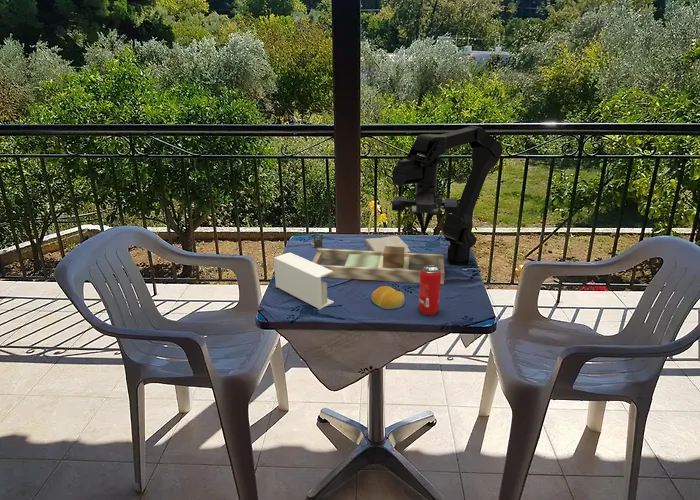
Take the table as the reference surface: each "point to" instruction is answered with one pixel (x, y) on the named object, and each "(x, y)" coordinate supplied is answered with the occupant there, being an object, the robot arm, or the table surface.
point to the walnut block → (393, 257)
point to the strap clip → (317, 243)
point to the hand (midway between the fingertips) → (423, 232)
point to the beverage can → (429, 289)
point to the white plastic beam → (302, 279)
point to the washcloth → (385, 243)
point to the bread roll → (388, 297)
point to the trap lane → (375, 265)
